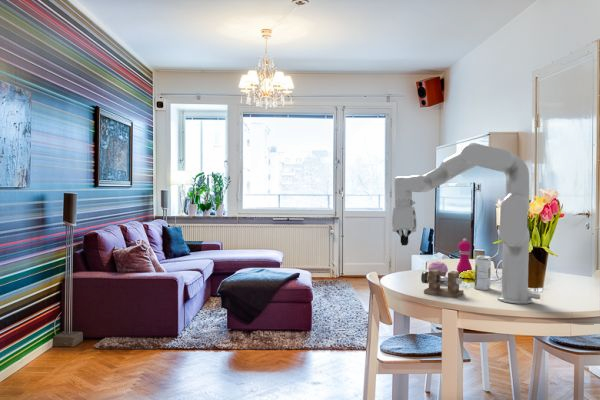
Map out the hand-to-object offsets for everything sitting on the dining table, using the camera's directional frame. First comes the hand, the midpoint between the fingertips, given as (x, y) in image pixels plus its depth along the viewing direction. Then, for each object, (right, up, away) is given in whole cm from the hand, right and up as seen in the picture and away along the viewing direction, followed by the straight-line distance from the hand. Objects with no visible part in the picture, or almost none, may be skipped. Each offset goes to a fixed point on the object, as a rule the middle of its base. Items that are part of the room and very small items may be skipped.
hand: (404, 245), depth 211 cm
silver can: (+35, -20, +1) cm, 40 cm away
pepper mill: (+36, -19, +27) cm, 49 cm away
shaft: (+13, -16, -10) cm, 23 cm away
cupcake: (+19, -19, +15) cm, 31 cm away
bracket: (+13, -20, -10) cm, 26 cm away
